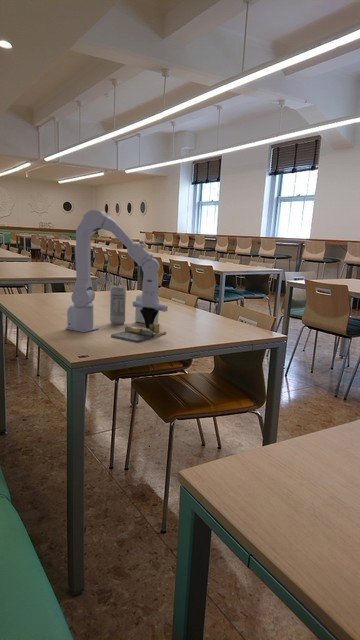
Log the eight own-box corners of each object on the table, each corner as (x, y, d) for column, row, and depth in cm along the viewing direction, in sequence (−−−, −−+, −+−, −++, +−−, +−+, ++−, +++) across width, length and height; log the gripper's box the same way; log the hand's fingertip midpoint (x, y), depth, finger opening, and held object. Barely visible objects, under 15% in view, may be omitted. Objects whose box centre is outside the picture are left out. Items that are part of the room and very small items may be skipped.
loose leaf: (124, 332, 152) (124, 322, 151) (140, 328, 160) (140, 319, 159) (150, 338, 146) (151, 328, 145) (166, 333, 154) (166, 323, 153)
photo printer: (159, 324, 171) (161, 294, 168) (154, 325, 167) (155, 295, 165) (139, 320, 176) (140, 291, 173) (133, 322, 172) (134, 292, 170)
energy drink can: (126, 322, 171) (127, 286, 168) (123, 325, 165) (123, 288, 162) (112, 321, 171) (112, 285, 168) (108, 324, 165) (108, 287, 162)
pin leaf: (111, 336, 146) (111, 330, 145) (128, 332, 154) (128, 325, 154) (140, 343, 139) (140, 336, 139) (157, 338, 147) (157, 331, 147)
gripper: (172, 293, 150) (171, 329, 153) (141, 288, 158) (140, 323, 160) (161, 294, 144) (160, 332, 147) (129, 290, 152) (128, 326, 155)
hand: (149, 328), depth 153 cm, fingers closed
